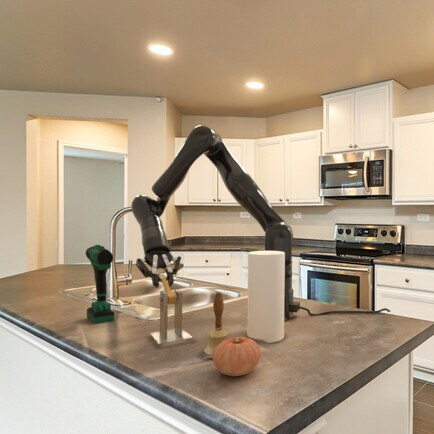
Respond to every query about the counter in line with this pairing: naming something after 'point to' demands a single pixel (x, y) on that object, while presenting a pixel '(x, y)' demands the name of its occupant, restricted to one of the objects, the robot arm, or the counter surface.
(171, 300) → the lever
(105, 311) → the power drill
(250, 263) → the tall pillar cylinder
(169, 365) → the counter surface
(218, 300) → the hand bell
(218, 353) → the pumpkin
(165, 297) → the bracket
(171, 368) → the counter surface
